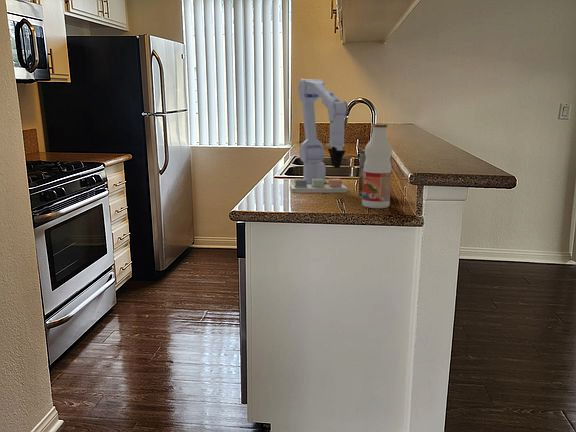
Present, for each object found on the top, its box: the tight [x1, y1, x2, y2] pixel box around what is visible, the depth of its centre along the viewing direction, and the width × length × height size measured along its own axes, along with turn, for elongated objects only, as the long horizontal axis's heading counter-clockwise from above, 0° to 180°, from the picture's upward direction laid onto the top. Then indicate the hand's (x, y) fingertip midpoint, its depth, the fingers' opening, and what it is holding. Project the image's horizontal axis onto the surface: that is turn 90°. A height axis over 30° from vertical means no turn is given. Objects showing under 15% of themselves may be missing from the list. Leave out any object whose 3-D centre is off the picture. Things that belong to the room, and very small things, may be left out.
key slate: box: [294, 178, 308, 186], centre depth 206 cm, size 4×4×2 cm
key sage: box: [312, 179, 325, 186], centre depth 207 cm, size 4×4×2 cm
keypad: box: [289, 183, 348, 194], centre depth 208 cm, size 22×10×2 cm, turn 95°
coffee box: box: [358, 151, 366, 196], centre depth 198 cm, size 9×6×16 cm
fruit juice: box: [361, 123, 393, 209], centre depth 175 cm, size 9×9×28 cm
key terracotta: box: [328, 178, 343, 186], centre depth 208 cm, size 4×4×2 cm
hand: (335, 167), depth 206 cm, fingers open, 4 cm apart
